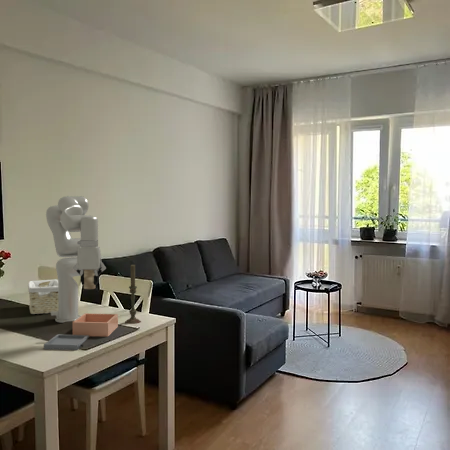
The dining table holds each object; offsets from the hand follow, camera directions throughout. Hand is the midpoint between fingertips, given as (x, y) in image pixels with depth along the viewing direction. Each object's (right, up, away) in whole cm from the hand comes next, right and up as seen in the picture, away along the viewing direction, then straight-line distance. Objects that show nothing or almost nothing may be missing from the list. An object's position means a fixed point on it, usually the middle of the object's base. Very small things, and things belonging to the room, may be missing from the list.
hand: (89, 283), depth 212 cm
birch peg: (0, -2, 0) cm, 2 cm away
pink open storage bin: (+1, -23, +5) cm, 24 cm away
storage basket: (-39, -21, +49) cm, 66 cm away
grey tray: (-6, -24, -11) cm, 28 cm away
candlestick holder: (+15, -23, +22) cm, 35 cm away
